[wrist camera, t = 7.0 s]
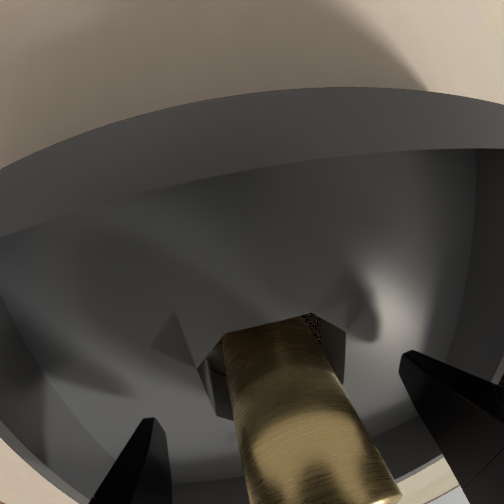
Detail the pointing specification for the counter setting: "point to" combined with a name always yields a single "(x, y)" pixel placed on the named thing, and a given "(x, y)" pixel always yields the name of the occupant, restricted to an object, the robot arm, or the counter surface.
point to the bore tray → (245, 270)
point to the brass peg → (299, 422)
